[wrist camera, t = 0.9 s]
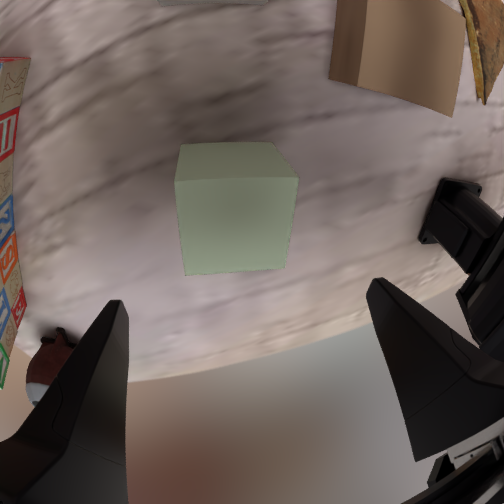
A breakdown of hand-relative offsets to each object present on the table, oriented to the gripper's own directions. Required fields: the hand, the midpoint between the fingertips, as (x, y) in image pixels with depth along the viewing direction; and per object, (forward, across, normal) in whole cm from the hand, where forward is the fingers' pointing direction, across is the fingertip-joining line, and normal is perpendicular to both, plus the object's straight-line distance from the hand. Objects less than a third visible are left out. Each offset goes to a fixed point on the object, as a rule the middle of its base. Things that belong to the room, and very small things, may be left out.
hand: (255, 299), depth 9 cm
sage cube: (+9, 0, 0) cm, 9 cm away
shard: (+10, -20, -16) cm, 27 cm away
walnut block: (+9, -9, -10) cm, 16 cm away
